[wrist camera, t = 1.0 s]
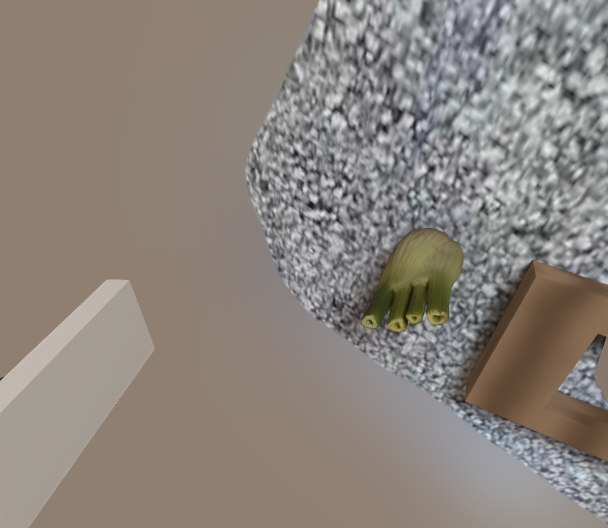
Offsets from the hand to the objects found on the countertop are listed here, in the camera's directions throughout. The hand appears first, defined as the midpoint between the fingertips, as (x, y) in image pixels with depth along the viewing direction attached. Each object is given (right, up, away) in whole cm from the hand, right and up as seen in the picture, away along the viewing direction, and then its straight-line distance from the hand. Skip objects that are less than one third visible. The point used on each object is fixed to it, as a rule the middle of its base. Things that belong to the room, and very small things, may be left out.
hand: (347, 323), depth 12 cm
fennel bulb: (+10, +3, +26) cm, 28 cm away
